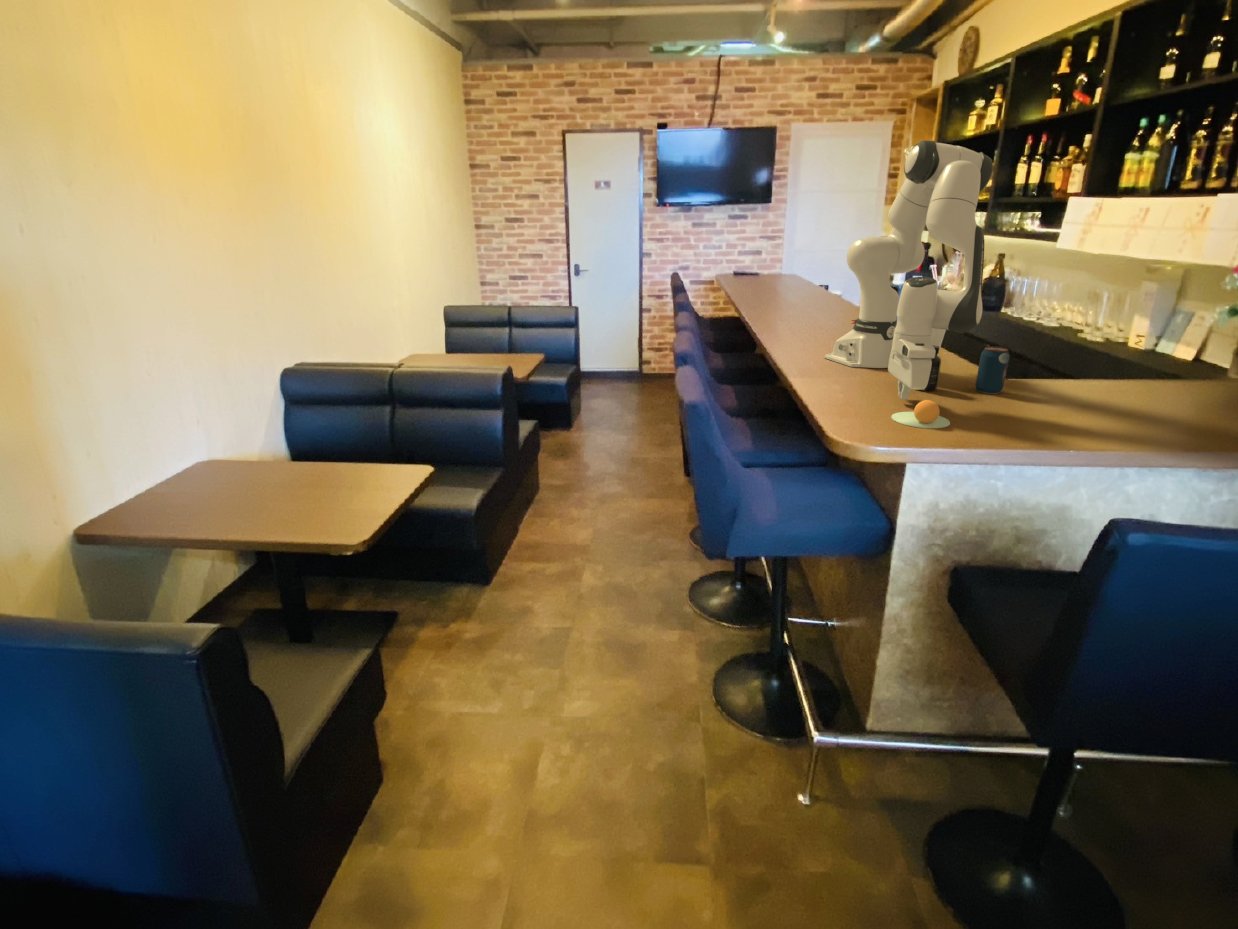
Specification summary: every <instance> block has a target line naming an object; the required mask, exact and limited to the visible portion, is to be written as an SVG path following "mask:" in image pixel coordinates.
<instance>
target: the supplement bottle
mask: <svg viewBox="0 0 1238 929" xmlns="http://www.w3.org/2000/svg"><path fill="white" fill-rule="evenodd" d="M933 347H934V348H935V351H936V353H935V358H930V359H931V361H932V366H931V371H930V376H929V381H928V384H927V386H926V388H925V389H924V390H917V391H920V392H934V391H936V390H937V389H938V386H939V385H938V384H939V378H940V372H941V366H942V358H941V357H940V356H939V353H940V350H939V346H935V345H933ZM937 354H938V355H937Z"/></svg>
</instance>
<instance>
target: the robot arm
mask: <svg viewBox="0 0 1238 929" xmlns="http://www.w3.org/2000/svg"><path fill="white" fill-rule="evenodd" d="M993 163H994V162H993V159H992V158H991V157H989V155H986V154H984V153H982V152H977V151H975V150H973V149H969V148H967V147H965V146H960V145H953V144H948V143H943V142H936V141H934V140H920V141H918V142H917V143H915V145H913V147H912V148H911V149H910V151H909V153H908V154H907V156H906V159H905V163H904V167H903V172H904V175H905V177H906V179H905V180H904V182H903V184H902V185H901V187H900V189H899V191H898V193H897V194H896V197H895V199H894V200H893V203H892V204H891V206H890V208H889V210H888V212H887V217H888V218H887V219H888V222H889V223H890V225H891V226H892V229H891V230H890V233H889V234H888V235H887V236H869V237H865V238H861V239H858V240H856V241H855V240H854V241H853V242H852V244H851V245H850V246H849V247H848V250H847V254H846V263H847V266H848V268H849V269H850V271H851V272H853V273H854V275H855V276H856V279H857V280H858V284H859V289H860V303H859V304H860V306H859V315H858V317H857V319H852V320H851V323H850V324H851V325H853V327H852V329H851V330H849V331H848V332H847V333H845V334H844V335H842V336H841V337H839V338H837V340H835V342H834V346H833V349H832V352H830V353H829V352H828V353H827V354H824V359H827V360H830V361H833V362H836V363H838V364H842V365H844V366H848V367H850V368H868V369H869V368H870V369H886V368H887V371H888V373H889V374H890V375H892V376H894V377H895V378H896V379H897V390H898V393H897V396H898V397H899V398H900V399H901V400H904V401H905V400H908V399H909V396H910V393H911V391H912V390H914V391H915V390H916V391H918V390H924V389H925V388H926V386H927V384H928V381H929V376H930V371H931V366H932V361H931V359H930V358H935V353H936V351H935V348H934V347H933V344H932V340H931V338H932V328H934V329H944V330H946V331H950V332H953V333H959V334H965V333H967V332H969V331H971V330H973V329H975V328H976V327H977V326H979V323H980V321H981V319H982V316H983V300H982V298H983V297H982V295H983V294H982V293H983V279H984V277H983V276H984V262H985V233H984V230H983V228H982V227H981V226H979V225H978V224H977V222H976V221H977V220H976V210H977V206H978V202H979V197H980V196H979V195H980V192H982V191H983V190H984V189H985V188H986V187H987V185H988V184H989V182H990V180H991V178H992V174H993V172H994V164H993ZM925 226H926V230H927V231H928V232H929V234H930V235H931V237H932V238H934V239H935V240H937V242H939V243H941V244H943V245H945V246H947V247H950V248H953V249H955V250H956V251H959V252H960V253H961V254H962V255H963V256H964V270H963V283H962V284H963V285H962V288H961V289H960V290H949V289H948V290H947V289H946V290H945V289H938V280H937V279H934V278H933V277H929V276H917V277H916V276H915V277H914V276H913V277H909V278H908V279H906V280H905V281H904V283H903V285H902V288H901V291H900V295H899V294H898V292H897V290H896V289H895V288H893V287H892V285H891V283H890V275H895V274H899V275H900V274H905V273H909V272H912V271H915V270H916V269H918V268H920V266H921V265H922V264H923V262H924V259H925V255H926V253H925V252H926V250H925V246H924V243H922V235H923V231H924V229H925Z"/></svg>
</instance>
